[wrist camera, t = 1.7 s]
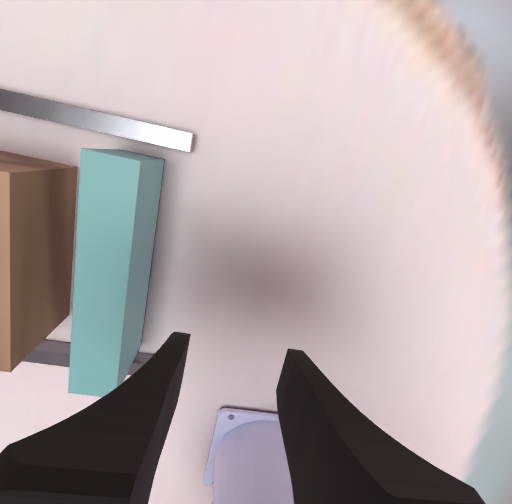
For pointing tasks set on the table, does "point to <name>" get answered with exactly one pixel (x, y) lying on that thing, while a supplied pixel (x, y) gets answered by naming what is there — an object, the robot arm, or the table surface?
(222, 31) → the table surface
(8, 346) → the walnut block
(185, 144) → the vise
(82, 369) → the block
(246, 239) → the table surface
